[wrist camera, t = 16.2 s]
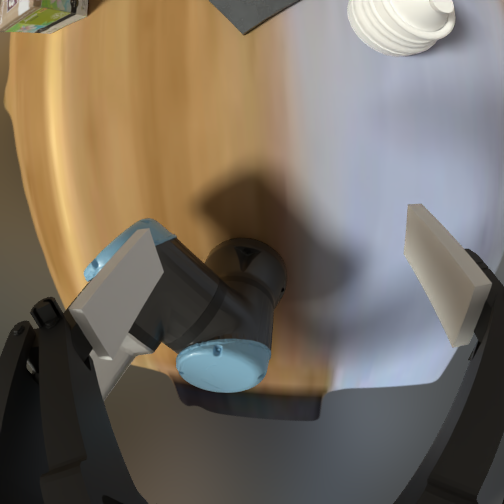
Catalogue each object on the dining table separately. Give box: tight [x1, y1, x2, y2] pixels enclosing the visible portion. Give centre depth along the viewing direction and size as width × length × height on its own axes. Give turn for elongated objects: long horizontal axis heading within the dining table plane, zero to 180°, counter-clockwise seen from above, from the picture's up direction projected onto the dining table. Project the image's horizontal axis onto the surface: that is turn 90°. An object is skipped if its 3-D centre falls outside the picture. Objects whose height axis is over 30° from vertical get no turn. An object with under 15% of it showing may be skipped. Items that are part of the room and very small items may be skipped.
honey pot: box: [347, 0, 455, 57], centre depth 21 cm, size 13×13×18 cm
